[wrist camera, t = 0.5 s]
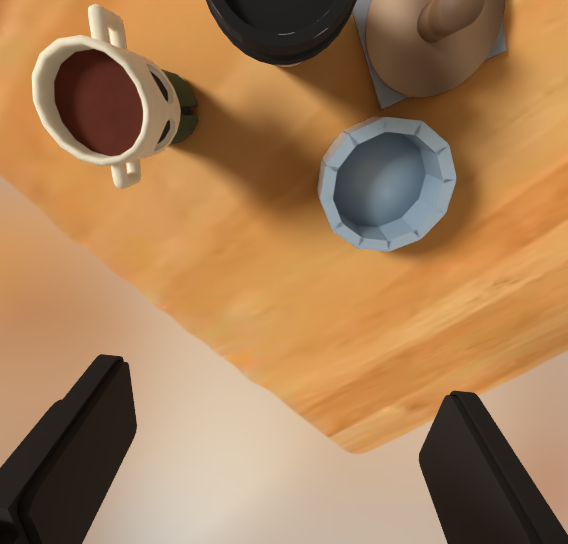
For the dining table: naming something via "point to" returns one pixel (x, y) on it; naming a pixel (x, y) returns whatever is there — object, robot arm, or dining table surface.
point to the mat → (382, 91)
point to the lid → (430, 42)
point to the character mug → (109, 99)
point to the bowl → (386, 182)
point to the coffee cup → (281, 27)
